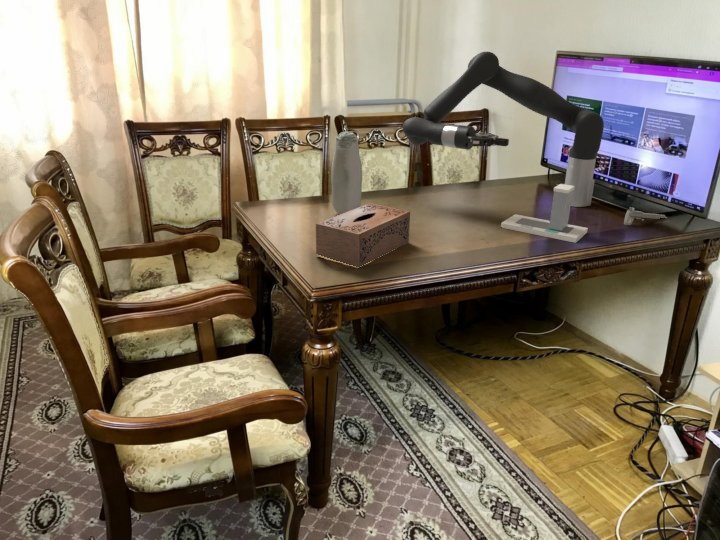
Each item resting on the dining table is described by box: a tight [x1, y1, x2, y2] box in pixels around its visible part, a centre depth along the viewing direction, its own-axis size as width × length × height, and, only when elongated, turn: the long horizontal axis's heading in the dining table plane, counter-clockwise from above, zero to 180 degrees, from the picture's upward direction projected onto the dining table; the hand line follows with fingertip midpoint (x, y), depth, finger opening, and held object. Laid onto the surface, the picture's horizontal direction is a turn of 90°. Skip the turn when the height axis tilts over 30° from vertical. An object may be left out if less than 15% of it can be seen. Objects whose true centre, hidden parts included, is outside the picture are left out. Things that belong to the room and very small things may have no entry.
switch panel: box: [500, 213, 589, 244], centre depth 187 cm, size 24×12×2 cm, turn 55°
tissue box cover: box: [315, 202, 411, 267], centre depth 167 cm, size 26×14×10 cm, turn 144°
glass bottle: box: [330, 130, 363, 215], centre depth 194 cm, size 10×10×28 cm
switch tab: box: [549, 183, 575, 231], centre depth 182 cm, size 4×6×13 cm
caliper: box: [623, 206, 668, 226], centre depth 196 cm, size 20×1×6 cm, turn 117°
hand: (507, 142), depth 185 cm, fingers closed
